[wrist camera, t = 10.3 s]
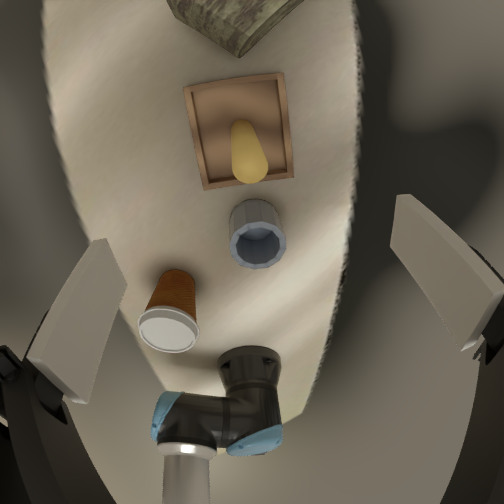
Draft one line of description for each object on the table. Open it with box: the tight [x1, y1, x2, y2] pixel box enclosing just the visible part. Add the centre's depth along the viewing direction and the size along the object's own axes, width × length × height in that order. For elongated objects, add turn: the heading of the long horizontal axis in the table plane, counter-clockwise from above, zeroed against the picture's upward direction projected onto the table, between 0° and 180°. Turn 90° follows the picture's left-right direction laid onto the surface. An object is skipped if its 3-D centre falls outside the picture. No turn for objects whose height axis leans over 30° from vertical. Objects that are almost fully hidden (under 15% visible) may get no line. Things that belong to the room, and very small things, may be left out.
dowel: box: [231, 119, 268, 184], centre depth 27 cm, size 3×3×15 cm
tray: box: [183, 73, 294, 190], centre depth 32 cm, size 14×12×2 cm
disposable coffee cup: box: [138, 270, 199, 353], centre depth 43 cm, size 10×10×12 cm
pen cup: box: [229, 199, 286, 269], centre depth 39 cm, size 7×7×7 cm
